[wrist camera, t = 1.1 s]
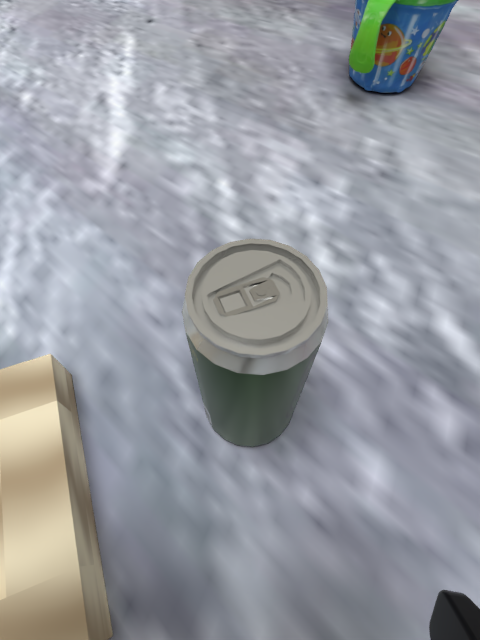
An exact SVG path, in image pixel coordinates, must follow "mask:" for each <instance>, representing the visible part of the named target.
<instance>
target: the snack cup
mask: <svg viewBox="0 0 480 640" xmlns="http://www.w3.org/2000/svg"><path fill="white" fill-rule="evenodd" d="M457 1H458V0H356V3H355V13H354V26H353V32H352V43H351V51H350V55H349V64H350V65H349V73H350V77H352V79H353V80H354V81H355V82H356V83H357V84H358V85H360V86H361V87H363V88H364V89H365V90H367V91H376V92H381V93H389V92H398V93H399V92H401V91H403V90H404V89H405V88H408V87H409V86H411V85H412V83H413V82H414V81H415V79H416V77H417V75H418V74H419V72H420V71H421V69H422V67H423V65H424V63H425V61H426V59H427V57H428V55H429V53H430V52H431V50H432V48H433V46H434V44H435V42H436V40H437V38H438V36H439V35H440V33H441V31H442V29H443V27H444V25H445V23H446V21H447V19H448V17H449V14H450V12H451V10H452V8H453V7H454V5H455V4H456V2H457Z"/></svg>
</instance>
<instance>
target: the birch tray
mask: <svg viewBox="0 0 480 640" xmlns="http://www.w3.org/2000/svg"><path fill="white" fill-rule="evenodd" d="M112 636H113V632H112V626H111V620H110V613H109V607H108V601H107V595H106V588H105V582H104V576H103V569H102V563H101V557H100V551H99V544H98V538H97V532H96V526H95V519H94V513H93V507H92V501H91V494H90V488H89V482H88V476H87V469H86V463H85V457H84V450H83V444H82V438H81V432H80V425H79V419H78V413H77V407H76V400H75V394H74V388H73V382H72V375H71V374H70V373H69V372H68V371H67V370H66V369H65V368H64V367H63V366H62V365H61V364H60V363H59V362H58V361H57V360H56V359H55V358H54V357H53V356H52V355H51V354H48V355H45V356H42V357H39V358H36V359H32V360H29V361H26V362H23V363H20V364H16V365H13V366H10V367H7V368H4V369H1V370H0V640H108V639H109V638H110V637H112Z"/></svg>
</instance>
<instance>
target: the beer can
mask: <svg viewBox="0 0 480 640" xmlns="http://www.w3.org/2000/svg"><path fill="white" fill-rule="evenodd" d="M182 315H183V320H184V326H185V331H186V335H187V339H188V343H189V347H190V351H191V355H192V359H193V363H194V367H195V371H196V375H197V379H198V383H199V387H200V391H201V395H202V399H203V403H204V407H205V412H206V416H207V418H208V420H209V422H210V424H211V426H212V427H213V429H214V430H215V431H216V432H217V433H218V434H219V435H220V436H221V437H222V438H224V439H225V440H227V441H229V442H232V443H234V444H236V445H239V446H250V447H254V446H258V445H262V444H266V443H269V442H270V441H272V440H273V439H275V438H277V437H278V436H280V435H281V433H282V432H283V431H284V429H285V428H286V427H287V426H288V424H289V422H290V419H291V417H292V414H293V412H294V409H295V407H296V404H297V402H298V399H299V397H300V394H301V392H302V389H303V387H304V384H305V382H306V379H307V377H308V374H309V372H310V369H311V367H312V364H313V362H314V359H315V357H316V354H317V352H318V349H319V347H320V344H321V342H322V339H323V336H324V333H325V330H326V327H327V324H328V307H327V287H326V285H325V282H324V280H323V278H322V276H321V273H320V271H319V269H318V268H317V267H316V266H315V265H314V264H313V263H312V262H311V261H310V260H309V259H308V257H307V256H305V255H304V254H302V253H300V252H299V251H297V250H295V249H294V248H292V247H290V246H288V245H285V244H282V243H278V242H275V241H272V240H262V239H246V240H240V241H234V242H230V243H227V244H225V245H223V246H221V247H218V248H216V249H214V250H212V251H211V252H210V253H208V254H207V255H206V256H205V257H204V258H202V259H201V260H200V261H199V262H198V263H197V264H196V266H195V268H194V269H193V271H192V273H191V274H190V276H189V277H188V282H187V287H186V292H185V299H184V304H183V309H182Z"/></svg>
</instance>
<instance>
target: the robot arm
mask: <svg viewBox="0 0 480 640" xmlns="http://www.w3.org/2000/svg"><path fill="white" fill-rule="evenodd" d="M429 630H430V638H431V640H480V609H479V608H478V607H477V606H476V605H475V604H474V603H473V602H472V601H471V600H470V599H469V598H468V597H467V596H466V595H464V594H462V593H459V592H453V591H448V590H442V591H440V592H439V594H438V597H437V600H436V603H435V606H434V610H433V613H432V616H431V620H430V626H429Z"/></svg>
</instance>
